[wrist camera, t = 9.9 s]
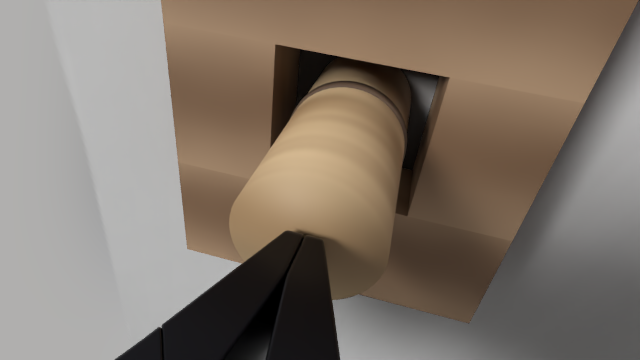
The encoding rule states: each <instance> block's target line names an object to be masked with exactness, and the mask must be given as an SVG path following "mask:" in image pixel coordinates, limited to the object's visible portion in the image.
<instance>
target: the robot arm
mask: <svg viewBox="0 0 640 360" xmlns="http://www.w3.org/2000/svg"><path fill="white" fill-rule="evenodd" d="M115 360H340V354H339V347H338V340H337V332H336V325H335V318H334V311H333V303H332V296H331V289H330V281H329V274H328V267H327V259H326V252H325V245H324V241H323V239H321V238H317V237H314V236H310V235H306V236H305V237H304V235H303V234H301V233H298V232H294V231H290V230H286V231H284V232H283V233H281V234H280V235H279V236H278V237H276V238H275V239H274V240H272V241H271V242H270V243H268V244H267V245H266V246H264V247H263V248H262V249H261V250H259V251H258V252H257V253H255V254H254V255H253V256H251V257H250V258H249V259H247V260H246V261H245V262H244V263H242V264H241V265H240V266H238V267H237V268H236V269H234V270H233V271H232V272H230V273H229V274H228V275H226V276H225V277H224V278H223V279H221V280H220V281H219V282H217V283H216V284H215V285H213V286H212V287H211V288H209V289H208V290H207V291H206V292H204V293H203V294H202V295H200V296H199V297H198V298H196V299H195V300H194V301H192V302H191V303H190V304H189V305H187V306H186V307H185V308H183V309H182V310H181V311H179V312H178V313H177V314H175V315H174V316H173V317H172V318H170V319H169V320H168V321H166V322H165V323H164V324H162V328H160V327H158V328H157V329H155V330H154V331H153V332H152V333H150V334H149V335H148V336H146V337H145V338H144V339H142V340H141V341H140V342H138V343H137V344H136V345H134V346H133V347H131V348H130V349H129V350H127V351H126V352H125V353H123V354H122V355H120V356H119V357H118V358H116V359H115Z"/></svg>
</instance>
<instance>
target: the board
mask: <svg viewBox="0 0 640 360" xmlns="http://www.w3.org/2000/svg"><path fill="white" fill-rule="evenodd" d="M637 2H638V0H161V4H162V13H163V23H164V32H165V42H166V51H167V60H168V70H169V79H170V89H171V98H172V108H173V117H174V127H175V136H176V146H177V155H178V165H179V174H180V183H181V193H182V202H183V212H184V221H185V231H186V240H187V249H190V250H193V251H197V252H201V253H205V254H209V255H212V256H216V257H220V258H224V259H227V260H231V261H235V262H239V263H244V260H243V259H242V258H241V256H240V255H239V253H238V251H237V250H236V248H235V246H234V243H233V241H232V238H231V234H230V228H229V218H230V212H231V208H232V206H233V204H234V202H235V200H236V199H237V197H238V196H239V194H240V193H241V191H242V190H243V188H244V187H245V185H246V184H247V182H248V181H249V179H250V178H251V176H252V175H253V173H254V172H255V170H256V169H257V167H258V166H259V165H260V163H261V162H262V160H263V159H264V157H265V156H266V154H267V153H268V151H269V150H270V148H271V147H272V145H273V144H274V142H275V141H276V139H277V138H278V136H279V135H280V133H281V132H282V131H283V129H284V128H285V126H286V125H287V123H288V122H289V120H290V118H291V116H292V113H293V111H294V110H295V108H296V96H297V84H298V72H299V60H300V49H303V50H308V51H314V52H319V53H324V54H329V55H335V56H340V57H345V58H350V59H355V60H361V61H366V62H371V63H376V64H382V65H387V66H392V67H397V68H403V69H408V70H413V71H418V72H424V73H429V74H434V75H439V80H438V83H437V87H436V90H435V94H434V97H433V100H432V104H431V107H430V111H429V114H428V118H427V121H426V124H425V128H424V131H423V135H422V138H421V142H420V145H419V149H418V152H417V155H416V159H415V162H414V166H413V169H412V170H410V169H405V168H402V170H401V177H400V184H399V190H398V197H397V204H396V211H395V218H394V225H393V232H392V239H391V246H390V253H389V259H388V264H387V266H386V269H385V271H384V273H383V275H382V276H381V278H380V279H379V280H378V281H377V282H376V283H375V284H374V285H373V286H372V287H370V288H369V289H367V290H366V291H364V292H362V293H360V295H363V296H367V297H371V298H375V299H379V300H382V301H386V302H390V303H394V304H397V305H401V306H405V307H409V308H413V309H416V310H420V311H424V312H428V313H431V314H435V315H439V316H443V317H447V318H450V319H454V320H458V321H462V322H465V323H470V321H471V319H472V317H473V315H474V313H475V311H476V309H477V308H478V306H479V304H480V302H481V300H482V298H483V296H484V294H485V292H486V290H487V288H488V287H489V285H490V283H491V281H492V279H493V277H494V275H495V273H496V271H497V269H498V267H499V266H500V264H501V262H502V260H503V258H504V256H505V254H506V252H507V250H508V248H509V246H510V245H511V243H512V241H513V239H514V237H515V235H516V233H517V231H518V229H519V227H520V226H521V224H522V222H523V220H524V218H525V216H526V214H527V212H528V210H529V208H530V206H531V205H532V203H533V201H534V199H535V197H536V195H537V193H538V191H539V189H540V187H541V185H542V184H543V182H544V180H545V178H546V176H547V174H548V172H549V170H550V168H551V166H552V164H553V163H554V161H555V159H556V157H557V155H558V153H559V151H560V149H561V147H562V145H563V144H564V142H565V140H566V138H567V136H568V134H569V132H570V130H571V128H572V126H573V124H574V123H575V121H576V119H577V117H578V115H579V113H580V111H581V109H582V107H583V105H584V103H585V102H586V100H587V98H588V96H589V94H590V92H591V90H592V88H593V86H594V84H595V82H596V81H597V79H598V77H599V75H600V73H601V71H602V69H603V67H604V65H605V63H606V62H607V60H608V58H609V56H610V54H611V52H612V50H613V48H614V46H615V44H616V42H617V41H618V39H619V37H620V35H621V33H622V31H623V29H624V27H625V25H626V23H627V21H628V20H629V18H630V16H631V14H632V12H633V10H634V8H635V6H636V4H637Z"/></svg>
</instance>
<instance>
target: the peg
mask: <svg viewBox="0 0 640 360" xmlns="http://www.w3.org/2000/svg"><path fill="white" fill-rule="evenodd" d="M410 107H411V91H410V87H409V84H408V81H407V79H406V77H405V75H404V74H403V72H402V71H401V70H400V69H399V68H397V67H392V66H387V65H382V64H376V63H371V62H366V61H361V60H355V59H350V58H345V57H338V58H336V59H334V60H333V61H332V62H331V63H329V64H328V65H327V66H326V67H325V69H324V70H323V71H322V73H321V74H320V76H319V77H318V79H317V80H316V82H315V83H314V85H313V86H312V88H311V89H310V91H309V92H308V94H306V95H305V96H304V98H303V99H302V100H301V101H300V103H299V104H298V105H297V107H296V108H295V110H294V111H293V113H292V116H291V118H290V120H289V122H288V123H287V125H286V126H285V128H284V129H283V131H282V132H281V133H280V135H279V136H278V138H277V139H276V141H275V142H274V144H273V145H272V147H271V148H270V150H269V151H268V153H267V154H266V156H265V157H264V159H263V160H262V162H261V163H260V165H259V166H258V167H257V169H256V170H255V172H254V173H253V175H252V176H251V178H250V179H249V181H248V182H247V184H246V185H245V187H244V188H243V190H242V191H241V193H240V194H239V196H238V197H237V199H236V200H235V202H234V204H233V206H232V208H231V212H230V218H229V228H230V234H231V238H232V241H233V243H234V246H235V248H236V250H237V251H238V253H239V255H240V256H241V258H242V259H243V260H244V262H245V261H246V260H247V259H249V258H250V257H251V256H253V255H254V254H255V253H257V252H258V251H259V250H261V249H262V248H263V247H264V246H266V245H267V244H268V243H270V242H271V241H272V240H274V239H275V238H276V237H278V236H279V235H280V234H281V233H283V232H284V231H286V230H290V231H294V232H298V233H301V234H303V235H304V237H305V236H306V235H310V236H314V237H317V238H321V239H323V241H324V245H325V252H326V259H327V267H328V274H329V281H330V289H331V296H332V300H338V299H344V298H348V297H352V296H355V295H358V294H360V293H362V292H364V291H366V290H367V289H369V288H370V287H372V286H373V285H374V284H375V283H376V282H377V281H378V280H379V279H380V278H381V276H382V275H383V273H384V271H385V269H386V266H387V264H388V259H389V253H390V246H391V239H392V232H393V225H394V218H395V211H396V204H397V197H398V190H399V184H400V177H401V170H402V163H403V160H404V157H405V153H406V147H407V128H408V121H409V114H410Z"/></svg>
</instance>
